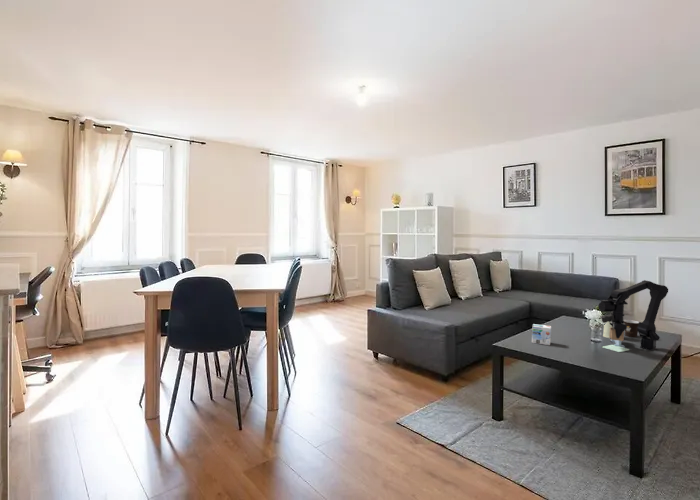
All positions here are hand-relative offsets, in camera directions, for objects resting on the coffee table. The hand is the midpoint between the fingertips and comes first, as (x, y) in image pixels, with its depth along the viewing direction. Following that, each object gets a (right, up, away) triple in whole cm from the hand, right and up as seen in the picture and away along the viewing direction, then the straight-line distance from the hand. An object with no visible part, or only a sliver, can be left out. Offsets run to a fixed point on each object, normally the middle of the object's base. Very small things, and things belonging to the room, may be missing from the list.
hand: (616, 336), depth 230 cm
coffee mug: (+29, -6, +28) cm, 41 cm away
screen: (+7, -7, +9) cm, 14 cm away
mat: (0, -7, 0) cm, 7 cm away
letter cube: (0, -1, 0) cm, 1 cm away
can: (+14, -6, +25) cm, 29 cm away
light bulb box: (-40, -7, +12) cm, 42 cm away
